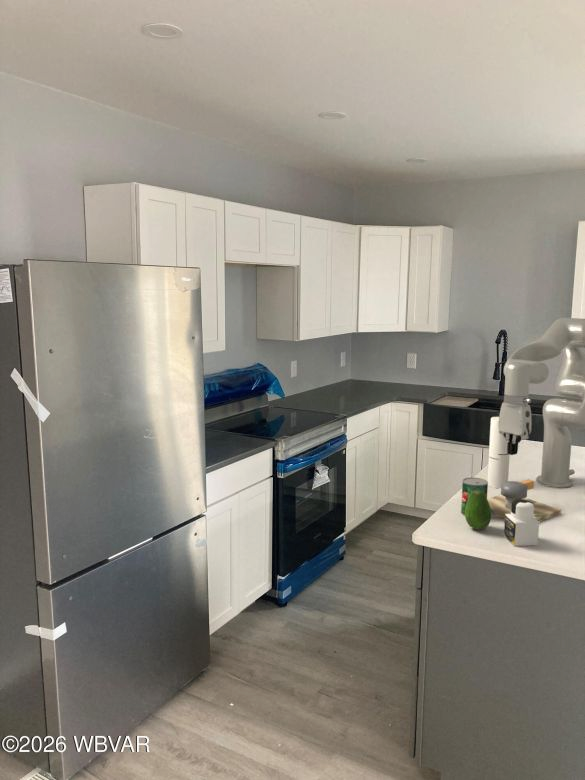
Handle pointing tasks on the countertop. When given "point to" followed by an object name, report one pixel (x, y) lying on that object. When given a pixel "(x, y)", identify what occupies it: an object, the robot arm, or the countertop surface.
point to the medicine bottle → (521, 524)
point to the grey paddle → (516, 489)
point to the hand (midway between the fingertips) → (512, 453)
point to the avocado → (477, 510)
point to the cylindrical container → (497, 456)
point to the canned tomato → (472, 489)
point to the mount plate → (541, 511)
